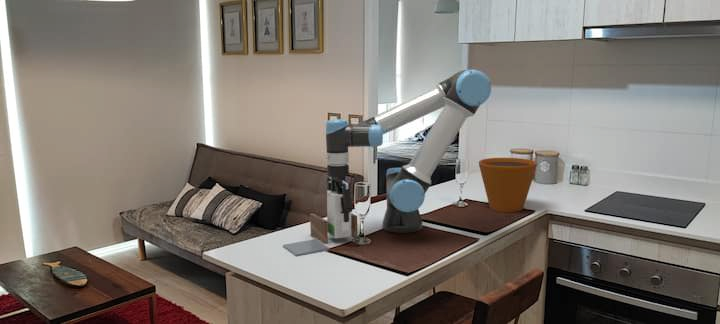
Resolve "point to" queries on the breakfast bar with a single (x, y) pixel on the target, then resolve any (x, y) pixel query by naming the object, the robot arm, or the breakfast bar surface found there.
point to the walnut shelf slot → (321, 230)
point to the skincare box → (336, 215)
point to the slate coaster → (306, 247)
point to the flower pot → (507, 182)
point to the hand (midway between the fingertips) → (339, 227)
